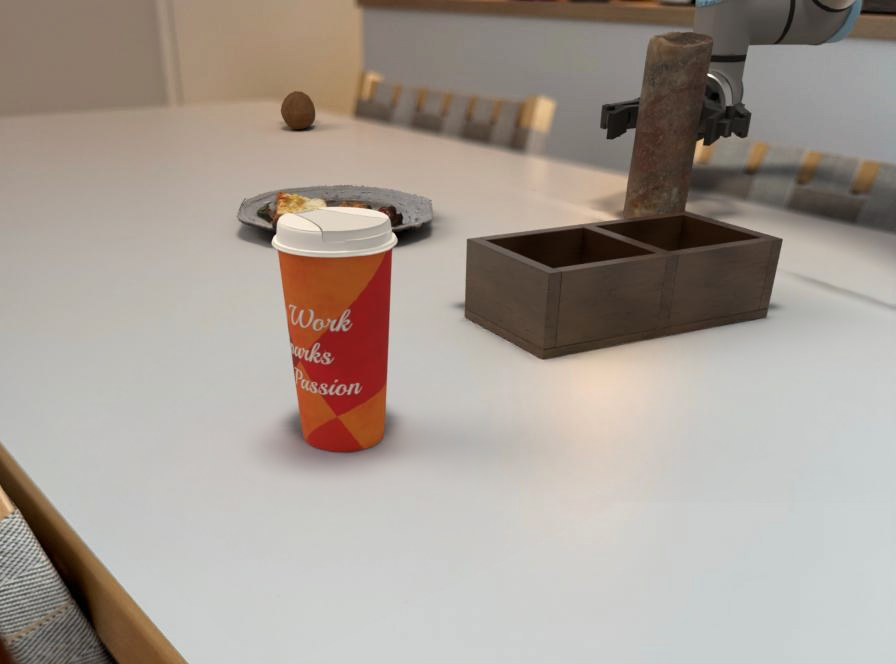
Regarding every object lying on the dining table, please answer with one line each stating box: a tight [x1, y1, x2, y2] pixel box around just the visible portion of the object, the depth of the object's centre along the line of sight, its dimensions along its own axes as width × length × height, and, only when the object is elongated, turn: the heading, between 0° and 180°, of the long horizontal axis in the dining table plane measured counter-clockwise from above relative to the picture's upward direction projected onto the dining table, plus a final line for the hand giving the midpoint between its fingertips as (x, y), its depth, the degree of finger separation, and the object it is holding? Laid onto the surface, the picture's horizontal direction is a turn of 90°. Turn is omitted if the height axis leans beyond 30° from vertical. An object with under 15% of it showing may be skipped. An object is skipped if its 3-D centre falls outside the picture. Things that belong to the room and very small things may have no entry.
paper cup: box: [271, 207, 398, 453], centre depth 62 cm, size 8×8×14 cm
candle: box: [622, 31, 714, 219], centre depth 112 cm, size 8×7×20 cm
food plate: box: [236, 184, 434, 233], centre depth 116 cm, size 25×23×4 cm
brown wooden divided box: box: [464, 210, 784, 360], centre depth 86 cm, size 25×13×7 cm, turn 118°
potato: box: [280, 90, 316, 130], centre depth 183 cm, size 7×10×6 cm
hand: (658, 129), depth 109 cm, fingers open, 10 cm apart
